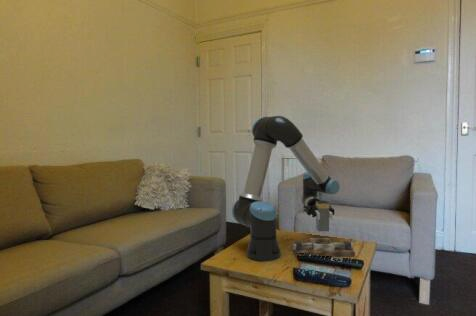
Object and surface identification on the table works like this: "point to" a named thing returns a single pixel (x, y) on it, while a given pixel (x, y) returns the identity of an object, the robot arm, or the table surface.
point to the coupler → (322, 215)
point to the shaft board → (324, 248)
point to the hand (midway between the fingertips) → (325, 216)
